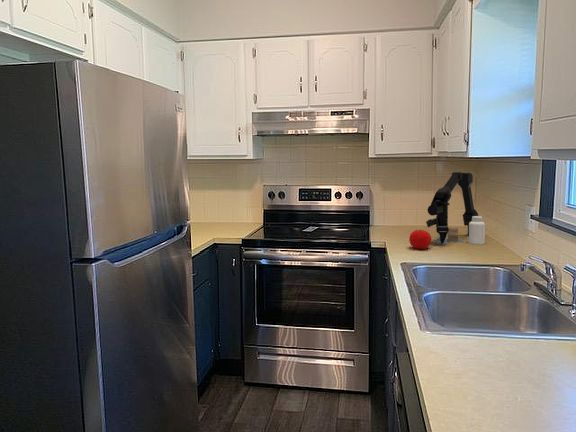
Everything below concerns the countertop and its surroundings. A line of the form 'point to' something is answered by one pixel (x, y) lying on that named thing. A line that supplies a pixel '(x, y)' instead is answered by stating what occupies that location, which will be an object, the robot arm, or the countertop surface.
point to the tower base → (452, 237)
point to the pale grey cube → (440, 241)
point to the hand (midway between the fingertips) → (441, 242)
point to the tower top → (453, 231)
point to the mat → (456, 241)
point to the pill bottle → (476, 230)
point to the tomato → (420, 239)
